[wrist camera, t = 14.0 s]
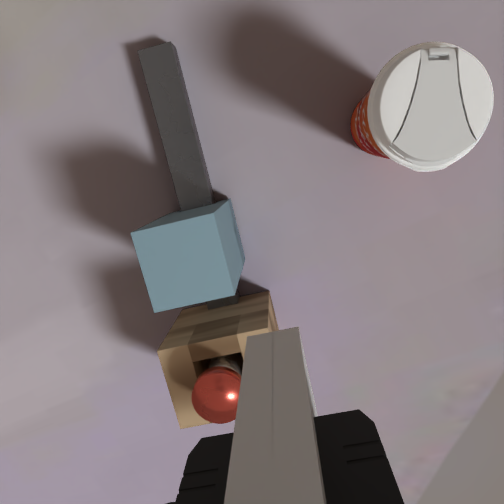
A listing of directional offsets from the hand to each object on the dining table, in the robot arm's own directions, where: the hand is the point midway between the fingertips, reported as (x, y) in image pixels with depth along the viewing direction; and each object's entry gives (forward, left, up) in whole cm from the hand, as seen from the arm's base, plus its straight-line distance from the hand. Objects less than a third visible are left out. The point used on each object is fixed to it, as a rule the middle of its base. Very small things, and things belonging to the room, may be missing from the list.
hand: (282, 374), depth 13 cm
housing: (+10, -7, -30) cm, 33 cm away
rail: (-6, -7, -30) cm, 32 cm away
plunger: (+10, -7, -24) cm, 26 cm away
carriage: (-1, -7, -30) cm, 31 cm away
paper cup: (-7, +11, -31) cm, 33 cm away
